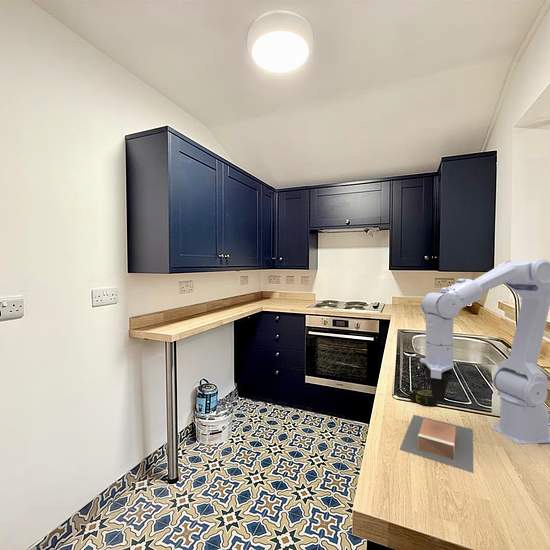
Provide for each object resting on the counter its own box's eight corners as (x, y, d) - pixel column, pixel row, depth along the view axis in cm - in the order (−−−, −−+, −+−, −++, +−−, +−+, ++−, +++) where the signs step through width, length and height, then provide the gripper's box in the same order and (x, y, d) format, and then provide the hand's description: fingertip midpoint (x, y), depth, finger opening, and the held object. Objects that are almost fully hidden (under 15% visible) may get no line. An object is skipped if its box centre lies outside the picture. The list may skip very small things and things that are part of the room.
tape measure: (421, 397, 97) (421, 386, 97) (442, 405, 91) (442, 393, 91) (408, 402, 94) (408, 390, 94) (429, 410, 88) (429, 398, 88)
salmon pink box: (423, 418, 76) (417, 435, 68) (456, 426, 72) (454, 445, 64) (423, 430, 76) (417, 449, 68) (455, 438, 72) (454, 460, 64)
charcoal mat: (413, 416, 84) (413, 414, 84) (472, 430, 76) (472, 429, 76) (399, 451, 68) (399, 449, 67) (473, 474, 60) (473, 472, 60)
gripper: (424, 335, 79) (423, 386, 79) (416, 346, 67) (415, 406, 67) (455, 339, 75) (454, 392, 75) (452, 351, 63) (451, 415, 63)
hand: (438, 399), depth 71 cm, fingers closed
